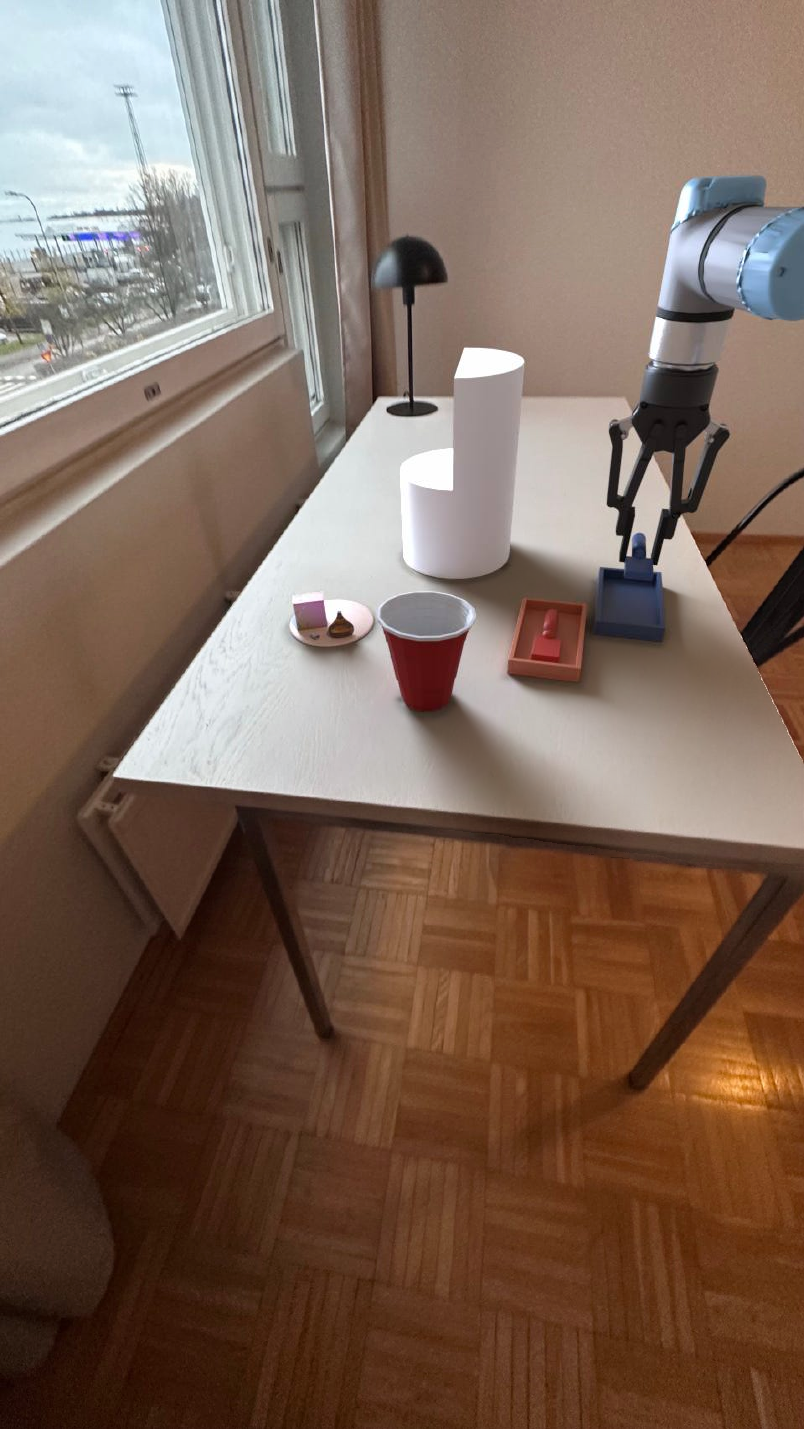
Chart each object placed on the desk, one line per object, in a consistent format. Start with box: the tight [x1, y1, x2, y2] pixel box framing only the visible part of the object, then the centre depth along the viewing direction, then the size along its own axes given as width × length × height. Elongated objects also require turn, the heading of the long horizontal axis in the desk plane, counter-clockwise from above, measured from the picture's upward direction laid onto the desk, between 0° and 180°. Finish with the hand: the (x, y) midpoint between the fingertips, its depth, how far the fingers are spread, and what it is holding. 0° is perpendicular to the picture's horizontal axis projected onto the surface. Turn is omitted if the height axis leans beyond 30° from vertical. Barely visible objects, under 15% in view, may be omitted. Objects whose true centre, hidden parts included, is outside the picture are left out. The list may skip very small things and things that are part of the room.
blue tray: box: [593, 566, 666, 643], centre depth 88 cm, size 9×15×2 cm, turn 165°
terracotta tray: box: [506, 597, 588, 683], centre depth 82 cm, size 9×15×2 cm, turn 165°
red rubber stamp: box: [531, 609, 562, 663], centre depth 82 cm, size 11×3×2 cm, turn 165°
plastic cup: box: [376, 590, 477, 713], centre depth 72 cm, size 11×11×12 cm
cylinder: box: [399, 347, 526, 580], centre depth 94 cm, size 17×17×28 cm
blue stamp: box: [623, 532, 654, 581], centre depth 84 cm, size 11×3×2 cm, turn 165°
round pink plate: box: [288, 590, 375, 648], centre depth 88 cm, size 12×12×4 cm
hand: (638, 558), depth 84 cm, fingers closed on blue stamp, 3 cm apart
